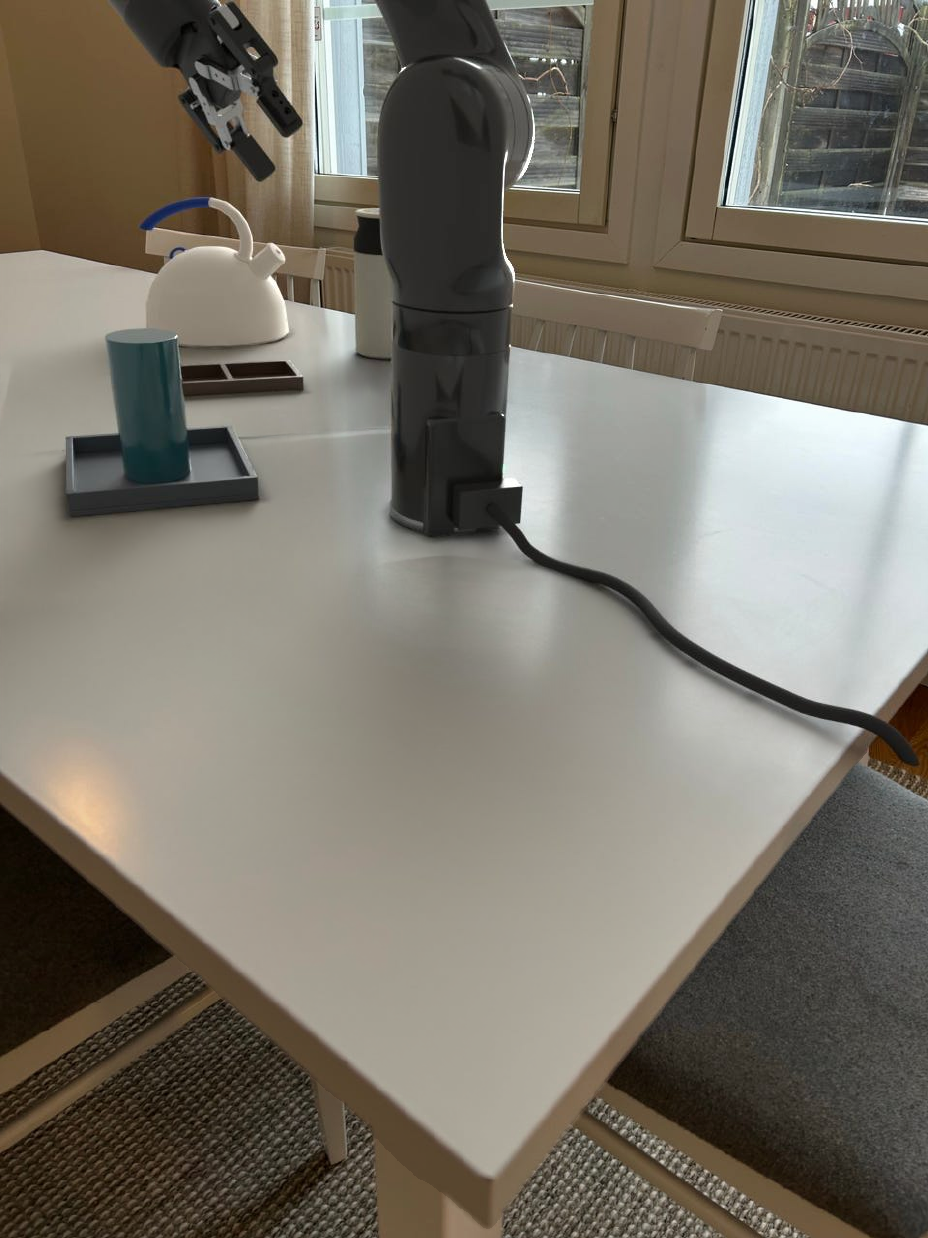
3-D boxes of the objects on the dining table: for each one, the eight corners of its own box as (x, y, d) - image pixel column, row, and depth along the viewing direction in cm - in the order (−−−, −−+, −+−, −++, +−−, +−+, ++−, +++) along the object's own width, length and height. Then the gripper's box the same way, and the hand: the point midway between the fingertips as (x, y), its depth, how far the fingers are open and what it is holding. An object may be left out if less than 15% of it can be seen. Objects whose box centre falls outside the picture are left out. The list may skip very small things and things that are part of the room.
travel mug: (346, 356, 128) (342, 211, 119) (369, 344, 135) (368, 206, 126) (400, 362, 126) (401, 215, 117) (422, 350, 132) (424, 210, 124)
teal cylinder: (195, 480, 84) (180, 341, 78) (125, 486, 82) (105, 344, 76) (188, 459, 88) (173, 326, 83) (122, 464, 86) (103, 329, 81)
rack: (303, 392, 111) (303, 376, 110) (158, 401, 106) (156, 384, 105) (289, 374, 118) (289, 359, 117) (152, 382, 113) (150, 366, 112)
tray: (259, 499, 81) (257, 477, 81) (69, 517, 77) (65, 493, 76) (233, 444, 94) (231, 424, 93) (69, 457, 89) (65, 436, 88)
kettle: (264, 353, 128) (255, 207, 119) (119, 342, 130) (100, 198, 122) (309, 323, 145) (304, 194, 137) (180, 314, 148) (167, 187, 139)
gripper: (205, -86, 77) (336, 94, 81) (172, 20, 89) (287, 170, 94) (134, -46, 74) (273, 137, 79) (110, 56, 87) (232, 209, 91)
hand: (280, 154), depth 86 cm, fingers open, 8 cm apart
